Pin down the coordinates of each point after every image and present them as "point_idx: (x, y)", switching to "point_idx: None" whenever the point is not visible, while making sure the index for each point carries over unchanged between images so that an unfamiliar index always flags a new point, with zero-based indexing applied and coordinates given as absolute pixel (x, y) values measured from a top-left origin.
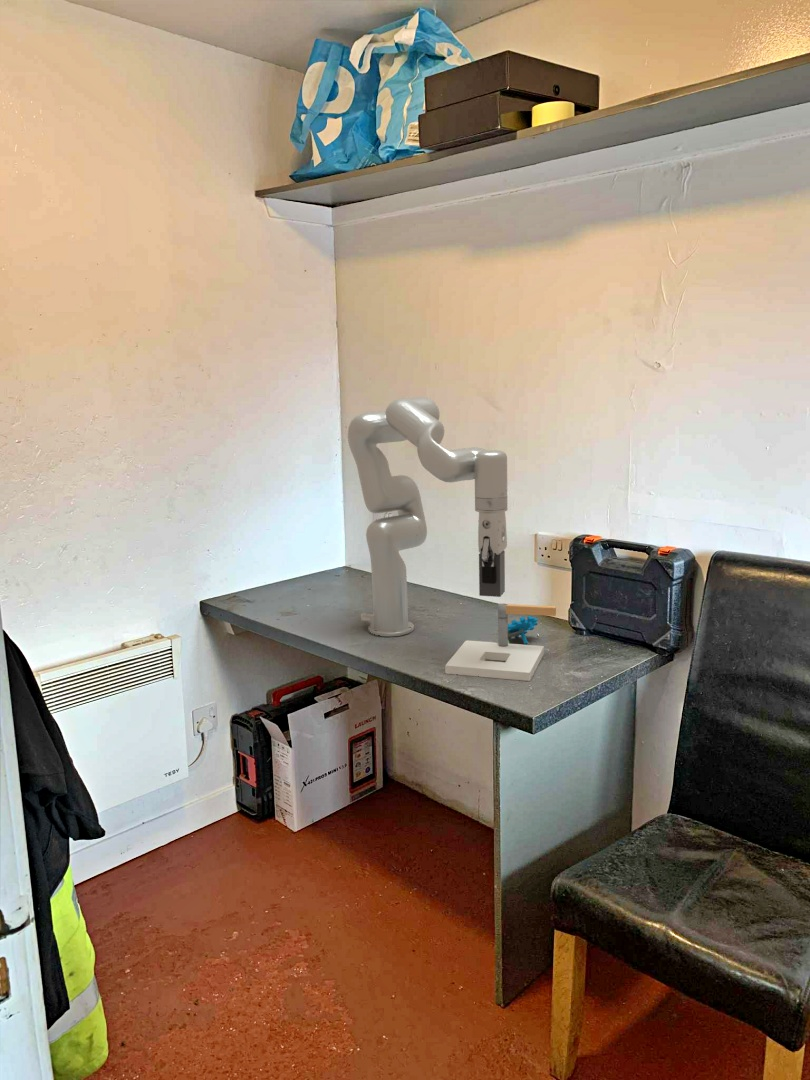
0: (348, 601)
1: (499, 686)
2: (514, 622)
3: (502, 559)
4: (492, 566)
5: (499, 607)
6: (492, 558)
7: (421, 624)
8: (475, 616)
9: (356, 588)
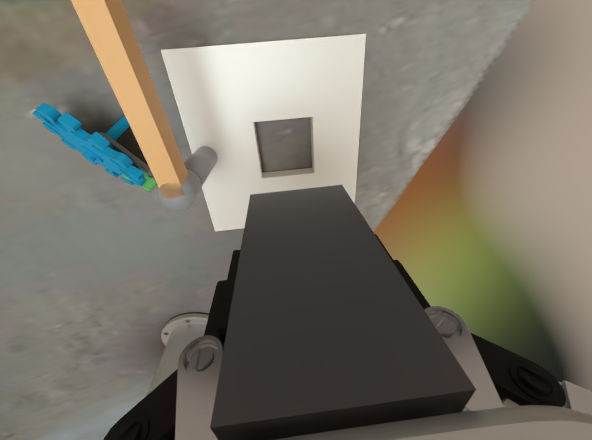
0: (122, 404)
1: (396, 98)
2: (127, 158)
3: (321, 329)
4: (454, 318)
5: (192, 200)
6: (486, 385)
7: (148, 316)
8: (38, 269)
9: (64, 420)
